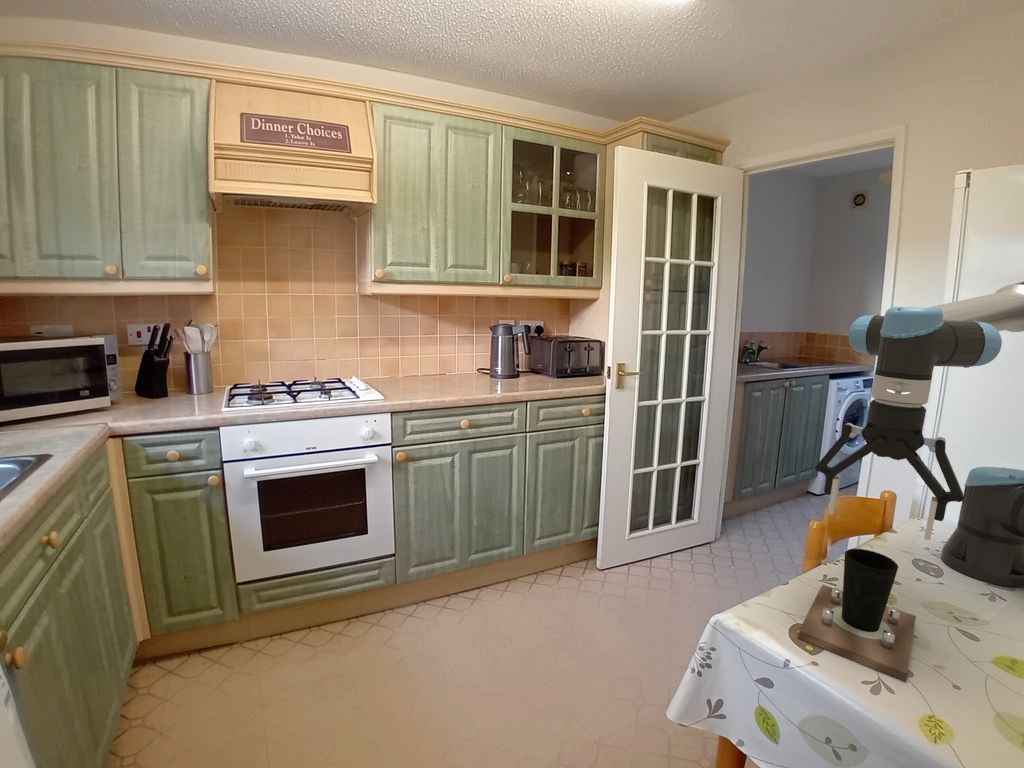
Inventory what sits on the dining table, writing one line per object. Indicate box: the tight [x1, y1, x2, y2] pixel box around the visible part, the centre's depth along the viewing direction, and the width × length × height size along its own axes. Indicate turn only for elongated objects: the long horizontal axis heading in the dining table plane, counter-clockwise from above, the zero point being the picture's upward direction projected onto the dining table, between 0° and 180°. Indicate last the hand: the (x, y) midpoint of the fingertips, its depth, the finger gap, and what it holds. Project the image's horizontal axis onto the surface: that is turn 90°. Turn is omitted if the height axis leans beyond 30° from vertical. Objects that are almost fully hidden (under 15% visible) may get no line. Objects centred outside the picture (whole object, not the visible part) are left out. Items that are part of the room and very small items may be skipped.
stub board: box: [797, 584, 917, 683], centre depth 93 cm, size 15×20×4 cm
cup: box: [842, 548, 899, 632], centre depth 92 cm, size 8×8×12 cm
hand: (877, 524), depth 90 cm, fingers open, 13 cm apart
